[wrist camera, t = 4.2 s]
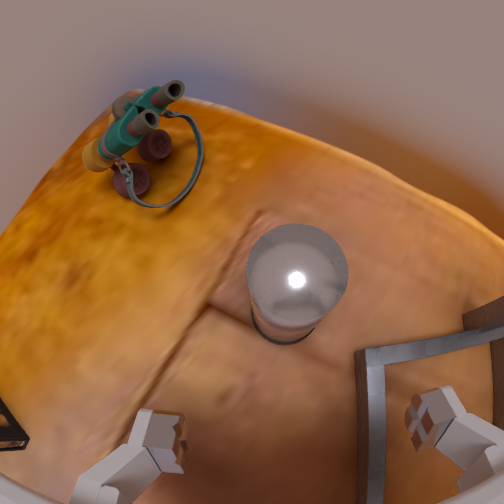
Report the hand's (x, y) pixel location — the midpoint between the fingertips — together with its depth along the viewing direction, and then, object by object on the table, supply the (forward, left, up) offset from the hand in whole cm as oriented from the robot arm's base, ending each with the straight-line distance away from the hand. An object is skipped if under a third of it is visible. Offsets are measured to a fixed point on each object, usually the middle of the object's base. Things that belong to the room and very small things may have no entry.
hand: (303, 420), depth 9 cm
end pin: (0, -6, -11) cm, 12 cm away
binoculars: (+11, -19, -11) cm, 24 cm away
